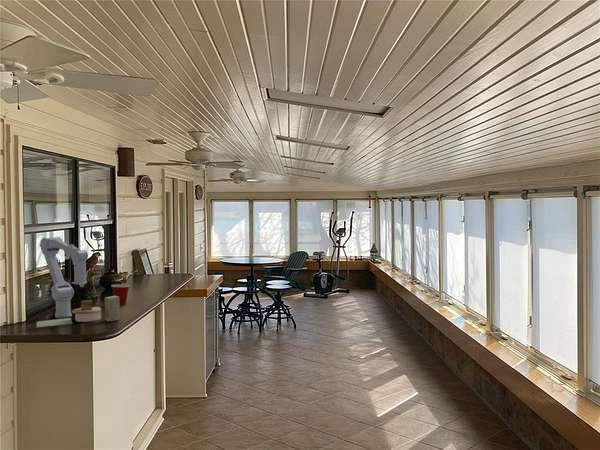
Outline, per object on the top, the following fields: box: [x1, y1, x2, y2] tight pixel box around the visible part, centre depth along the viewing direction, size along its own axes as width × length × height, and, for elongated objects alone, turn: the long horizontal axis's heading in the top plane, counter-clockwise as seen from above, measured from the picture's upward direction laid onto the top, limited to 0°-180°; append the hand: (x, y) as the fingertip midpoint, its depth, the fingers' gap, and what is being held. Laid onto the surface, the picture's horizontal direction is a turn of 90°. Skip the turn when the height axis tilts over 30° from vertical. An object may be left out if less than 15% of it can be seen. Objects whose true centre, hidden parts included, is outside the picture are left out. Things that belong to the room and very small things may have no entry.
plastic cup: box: [111, 284, 131, 306], centre depth 318 cm, size 11×11×12 cm
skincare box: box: [104, 295, 121, 322], centre depth 271 cm, size 6×4×12 cm
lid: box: [71, 299, 102, 314], centre depth 273 cm, size 14×14×6 cm
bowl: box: [74, 310, 102, 323], centre depth 273 cm, size 12×12×4 cm
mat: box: [36, 317, 73, 328], centre depth 266 cm, size 16×16×1 cm
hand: (80, 299), depth 276 cm, fingers open, 7 cm apart
